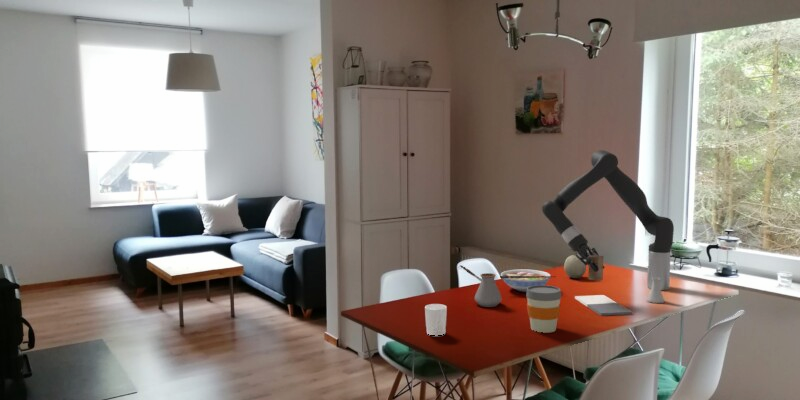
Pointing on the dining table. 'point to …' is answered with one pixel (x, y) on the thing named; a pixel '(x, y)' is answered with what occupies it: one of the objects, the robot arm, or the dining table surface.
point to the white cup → (435, 319)
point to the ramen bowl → (524, 278)
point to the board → (603, 305)
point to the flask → (655, 292)
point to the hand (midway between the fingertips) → (600, 269)
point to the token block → (599, 263)
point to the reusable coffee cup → (543, 307)
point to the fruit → (574, 266)
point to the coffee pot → (486, 290)
